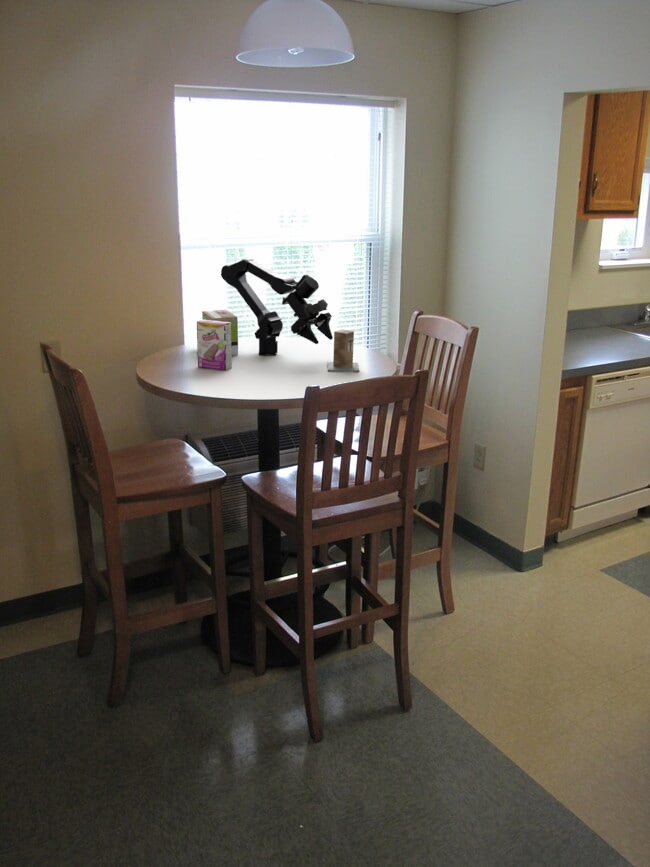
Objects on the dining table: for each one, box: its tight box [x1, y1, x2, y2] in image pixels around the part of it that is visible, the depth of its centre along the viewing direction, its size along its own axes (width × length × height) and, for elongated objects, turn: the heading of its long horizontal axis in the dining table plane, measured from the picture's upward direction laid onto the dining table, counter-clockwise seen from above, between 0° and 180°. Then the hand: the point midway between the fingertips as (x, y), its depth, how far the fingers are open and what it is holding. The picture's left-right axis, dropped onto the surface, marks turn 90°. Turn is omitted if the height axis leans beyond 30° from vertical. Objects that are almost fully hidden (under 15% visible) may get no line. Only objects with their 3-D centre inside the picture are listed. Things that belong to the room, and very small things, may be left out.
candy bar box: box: [196, 319, 233, 372], centre depth 264 cm, size 11×5×16 cm, turn 71°
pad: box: [327, 361, 360, 373], centre depth 271 cm, size 11×11×1 cm
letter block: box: [332, 329, 355, 369], centre depth 269 cm, size 6×5×12 cm
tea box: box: [201, 309, 239, 356], centre depth 288 cm, size 15×10×15 cm, turn 23°
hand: (324, 341), depth 272 cm, fingers open, 9 cm apart
